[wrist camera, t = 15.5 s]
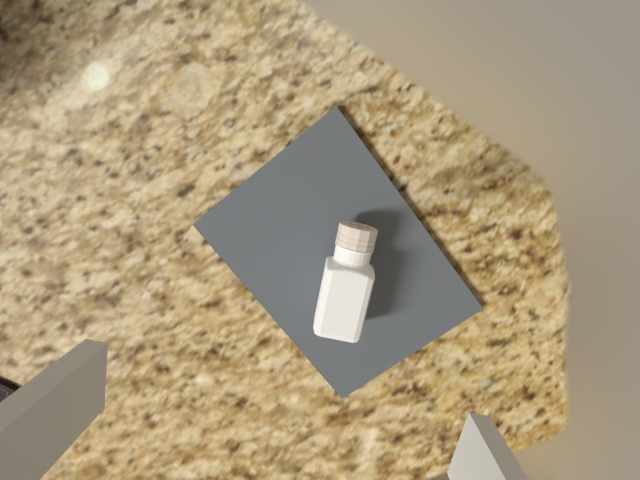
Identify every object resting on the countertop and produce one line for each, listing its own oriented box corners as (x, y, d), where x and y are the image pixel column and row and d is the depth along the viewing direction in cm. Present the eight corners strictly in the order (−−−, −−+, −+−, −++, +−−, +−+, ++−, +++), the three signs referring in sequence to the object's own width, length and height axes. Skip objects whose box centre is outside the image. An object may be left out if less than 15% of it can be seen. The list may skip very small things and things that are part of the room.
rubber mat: (195, 223, 30) (192, 224, 30) (336, 106, 28) (336, 105, 27) (341, 394, 34) (341, 398, 33) (480, 305, 31) (483, 308, 30)
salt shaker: (359, 347, 27) (387, 235, 25) (311, 337, 27) (334, 225, 25) (356, 324, 31) (380, 226, 29) (314, 315, 31) (334, 217, 29)
